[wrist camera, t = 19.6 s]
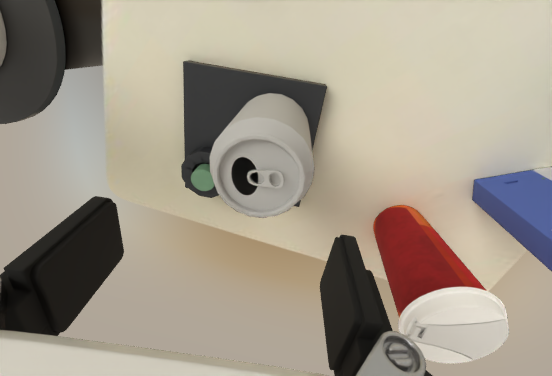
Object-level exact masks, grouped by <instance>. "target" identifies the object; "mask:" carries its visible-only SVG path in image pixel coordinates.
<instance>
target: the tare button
mask: <svg viewBox="0 0 552 376" xmlns="http://www.w3.org/2000/svg"><path fill="white" fill-rule="evenodd" d="M191 182H192V184H193V185H194V187H196V188H197V189H199V190H201V191H208V190H211V189H212V188H213V187H214V185H215V184H214V182H213V178H212V175H211V173H210V164H201V165H199V166H198V167H197V168H196V169H195V171H194V172H193V173H192V175H191Z"/></svg>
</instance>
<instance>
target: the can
mask: <svg viewBox="0 0 552 376" xmlns="http://www.w3.org/2000/svg"><path fill="white" fill-rule="evenodd" d="M210 173H211V175H212V178H213V182H214V184H215V187H216V190H217V192H218V194H219V195H220V196H221V198H222V199H223V200H224V202H225V203H226V204H227V205H229V206H230V207H231V208H233V209H234V210H236V211H237V212H240V213H242V214H245V215H247V216H251V217H259V218H266V217H272V216H277V215H279V214H282V213H284V212H286V211H288V210H289V209H290V208H291V207H293V206H294V205H295V204H296V203H297V202H298V201H300V200H301V199H302V198H303V197H304V196H305V194H306V193H307V191H308V189H309V187H310V186H311V184H312V179H313V174H314V161H313V153H312V146H311V138H310V130H309V124H308V119H307V117H306V115H305V113H304V111H303V109H302V108H301V107H300V106H299V105H298V104H297V103H296V102H295V101H294V100H293V99H291V98H288V97H286V96H284V95H282V94H273V93H268V94H264V95H259V96H257V97H255V98H253V99H252V100H250V101H249V102H247V104H246V105H245V106H244V107H243V108H242V109H241V111H240V112H239V113H238V114H237V115H236V116H235V118H234V119H233V120H232V121H231V122H230V124H229V125H228V126H227V127H226V128H225V129H224V131H223V132H222V133H221V134H220V136H219V137H218V138H217V139H216V141H215V142H214V145H213V148H212V151H211V154H210Z"/></svg>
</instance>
